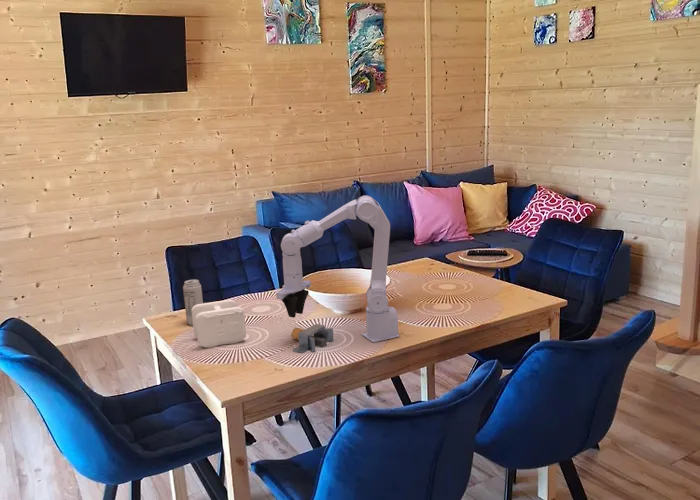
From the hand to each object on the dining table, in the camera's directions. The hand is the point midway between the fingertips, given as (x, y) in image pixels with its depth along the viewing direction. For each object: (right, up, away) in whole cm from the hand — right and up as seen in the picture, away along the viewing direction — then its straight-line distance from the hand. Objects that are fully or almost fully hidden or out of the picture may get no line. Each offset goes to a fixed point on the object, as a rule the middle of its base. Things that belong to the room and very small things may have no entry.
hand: (295, 315), depth 202 cm
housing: (+6, -9, -2) cm, 11 cm away
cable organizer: (-24, -9, +5) cm, 26 cm away
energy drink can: (-36, -5, +22) cm, 43 cm away
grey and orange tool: (+4, -8, 0) cm, 9 cm away
